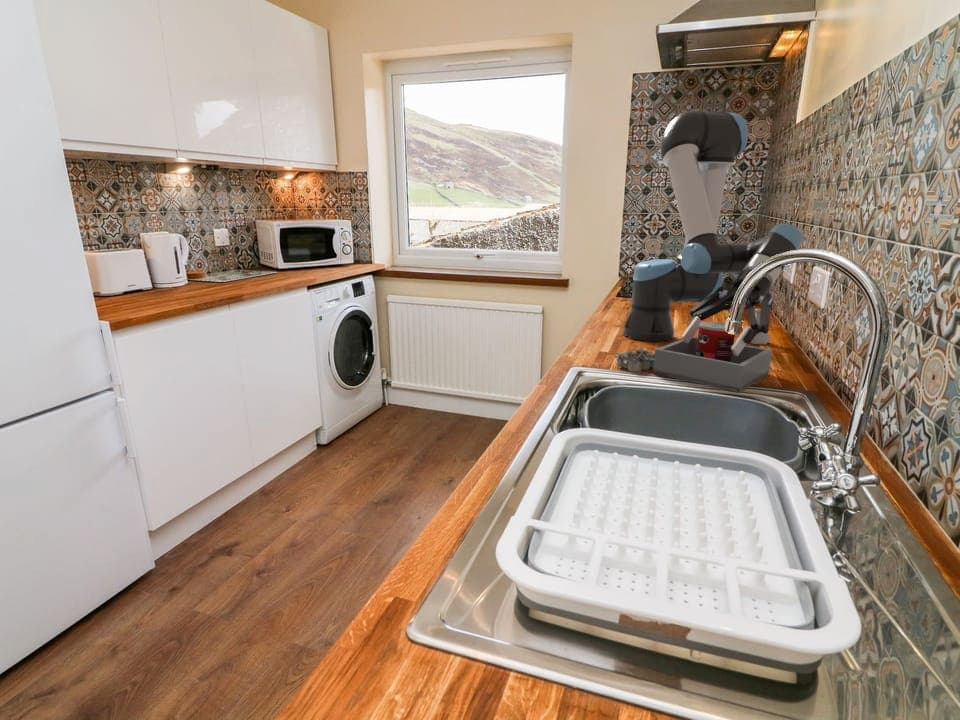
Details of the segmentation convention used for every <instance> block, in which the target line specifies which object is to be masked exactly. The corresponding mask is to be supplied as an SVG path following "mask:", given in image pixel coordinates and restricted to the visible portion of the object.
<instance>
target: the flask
mask: <svg viewBox="0 0 960 720" xmlns="http://www.w3.org/2000/svg"><path fill="white" fill-rule="evenodd" d="M754 312H755V316H756V320H757V324H758V325H759V324H760V313H761V308H755V309H754ZM749 327H750V328H751V326H750V325H749ZM770 342H771V339H770V335H769V332H768V333H766V334H764V333H763V332H760V333H758V334H756V336H755V337H754V339H753V340H752V341H751V343H750V344H752V345H753V344H754V345H768V344H767V343H770ZM770 344H771V343H770Z"/></svg>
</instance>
